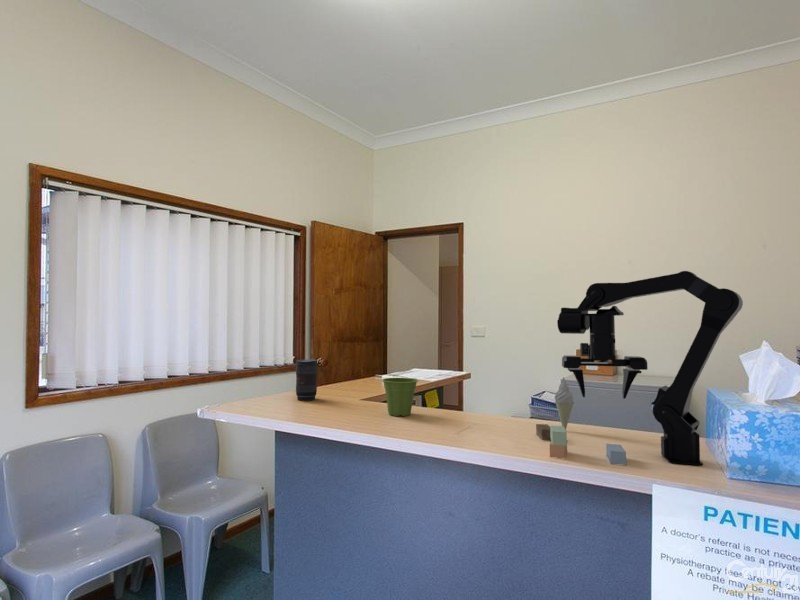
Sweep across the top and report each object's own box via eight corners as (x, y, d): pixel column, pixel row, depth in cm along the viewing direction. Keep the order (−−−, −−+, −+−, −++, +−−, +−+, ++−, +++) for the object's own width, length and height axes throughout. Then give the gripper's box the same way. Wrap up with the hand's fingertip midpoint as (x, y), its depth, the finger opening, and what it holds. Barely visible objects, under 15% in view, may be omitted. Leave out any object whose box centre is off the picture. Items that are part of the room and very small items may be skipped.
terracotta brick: (567, 452, 107) (567, 439, 108) (563, 459, 102) (563, 445, 102) (553, 451, 109) (553, 438, 109) (549, 457, 103) (549, 444, 104)
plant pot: (413, 419, 142) (413, 382, 142) (376, 417, 145) (377, 381, 145) (421, 412, 153) (421, 378, 154) (387, 409, 156) (388, 376, 157)
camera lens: (291, 400, 173) (292, 360, 174) (302, 397, 181) (302, 359, 182) (310, 401, 171) (311, 361, 172) (320, 398, 179) (321, 359, 179)
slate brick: (620, 458, 104) (620, 444, 104) (626, 466, 98) (625, 452, 98) (606, 456, 104) (606, 443, 104) (610, 465, 99) (610, 450, 99)
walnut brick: (547, 435, 123) (547, 424, 124) (553, 441, 117) (553, 429, 118) (536, 435, 124) (536, 424, 124) (541, 441, 118) (541, 429, 118)
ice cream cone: (551, 429, 129) (550, 376, 130) (565, 428, 131) (565, 375, 132) (563, 433, 124) (562, 378, 125) (578, 432, 126) (577, 377, 127)
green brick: (563, 439, 108) (563, 426, 108) (566, 445, 102) (566, 432, 103) (550, 438, 109) (550, 425, 109) (552, 444, 103) (552, 431, 103)
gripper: (635, 333, 119) (636, 394, 118) (559, 333, 123) (560, 391, 123) (647, 334, 108) (649, 401, 107) (563, 334, 113) (564, 398, 112)
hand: (603, 397), depth 113 cm, fingers open, 9 cm apart
